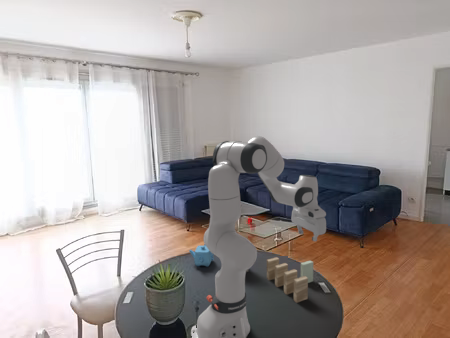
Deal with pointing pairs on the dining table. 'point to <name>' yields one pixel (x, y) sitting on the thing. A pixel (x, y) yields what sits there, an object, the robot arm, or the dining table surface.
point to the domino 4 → (300, 289)
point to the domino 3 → (289, 281)
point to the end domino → (307, 270)
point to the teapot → (202, 256)
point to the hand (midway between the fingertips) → (307, 237)
